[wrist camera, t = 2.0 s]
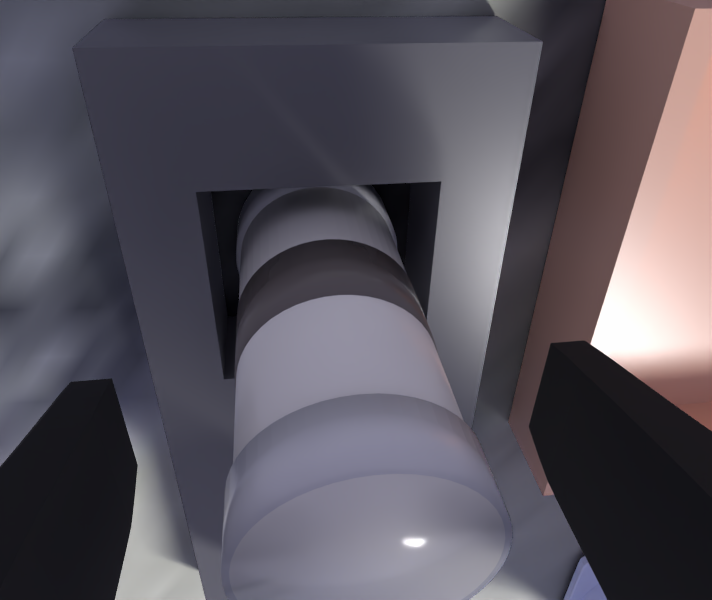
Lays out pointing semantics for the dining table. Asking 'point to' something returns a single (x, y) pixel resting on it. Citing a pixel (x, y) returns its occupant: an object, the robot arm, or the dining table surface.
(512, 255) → the dining table surface
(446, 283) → the fuse holder
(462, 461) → the cylinder
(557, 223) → the parts tray
